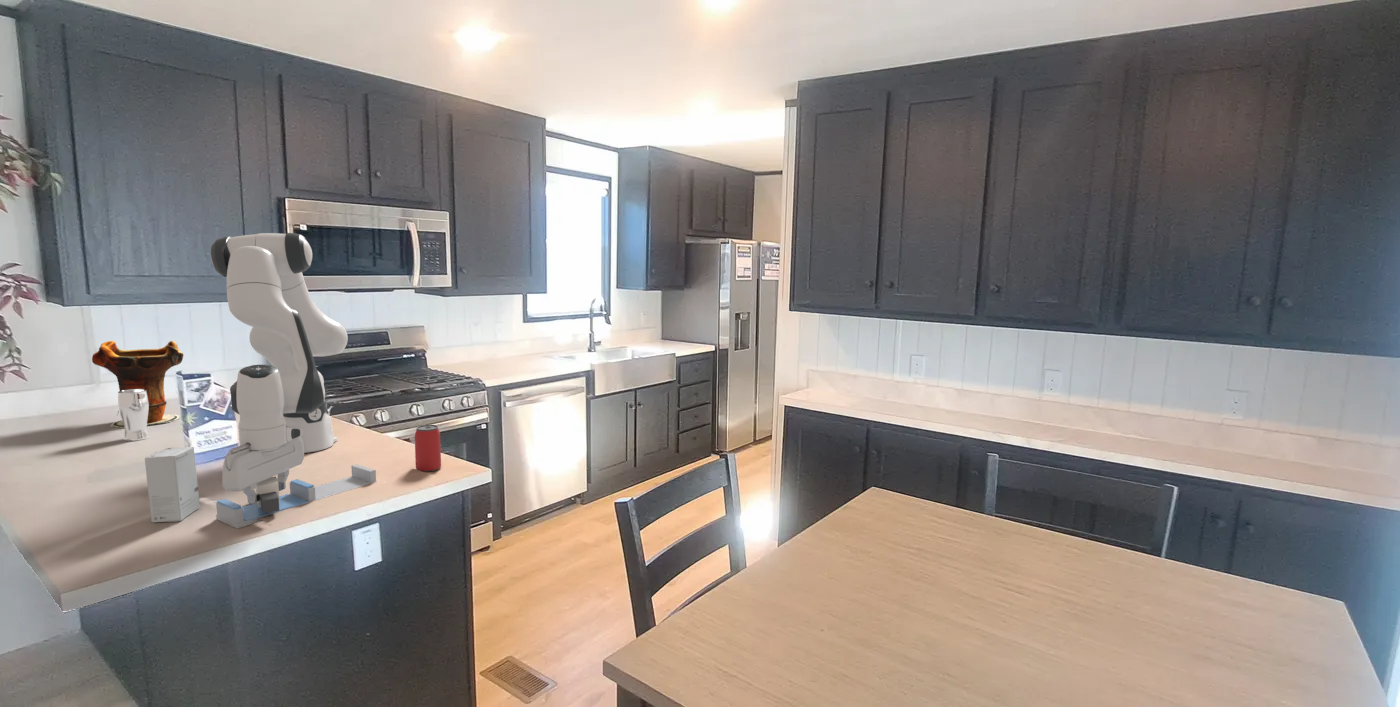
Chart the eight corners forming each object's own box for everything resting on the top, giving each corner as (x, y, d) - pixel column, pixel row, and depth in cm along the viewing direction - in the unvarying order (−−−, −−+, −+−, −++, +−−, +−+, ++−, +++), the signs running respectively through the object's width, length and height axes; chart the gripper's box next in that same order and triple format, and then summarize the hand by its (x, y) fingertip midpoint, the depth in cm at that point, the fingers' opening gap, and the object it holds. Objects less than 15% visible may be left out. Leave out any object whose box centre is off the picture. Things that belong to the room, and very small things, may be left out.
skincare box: (181, 522, 141) (175, 456, 139) (149, 523, 139) (142, 457, 137) (201, 507, 149) (196, 445, 147) (171, 508, 148) (165, 446, 145)
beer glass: (155, 437, 200) (151, 390, 198) (126, 442, 194) (121, 394, 192) (146, 434, 204) (142, 387, 202) (118, 438, 198) (113, 391, 196)
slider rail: (216, 519, 143) (214, 499, 142) (356, 478, 171) (355, 462, 170) (237, 528, 138) (235, 508, 138) (377, 485, 166) (376, 468, 166)
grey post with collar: (254, 494, 152) (253, 474, 151) (275, 491, 154) (273, 471, 154) (260, 514, 141) (258, 492, 140) (282, 510, 143) (280, 488, 143)
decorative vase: (198, 419, 220) (185, 339, 215) (107, 435, 204) (91, 348, 199) (187, 409, 234) (175, 333, 229) (101, 422, 218) (86, 341, 213)
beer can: (445, 465, 183) (444, 424, 181) (433, 473, 177) (432, 430, 175) (423, 464, 184) (422, 423, 182) (411, 471, 177) (409, 429, 175)
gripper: (238, 452, 135) (243, 514, 137) (307, 426, 155) (311, 481, 157) (211, 450, 135) (216, 512, 137) (283, 425, 156) (287, 480, 158)
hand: (267, 495), depth 147 cm, fingers closed on grey post with collar, 6 cm apart
